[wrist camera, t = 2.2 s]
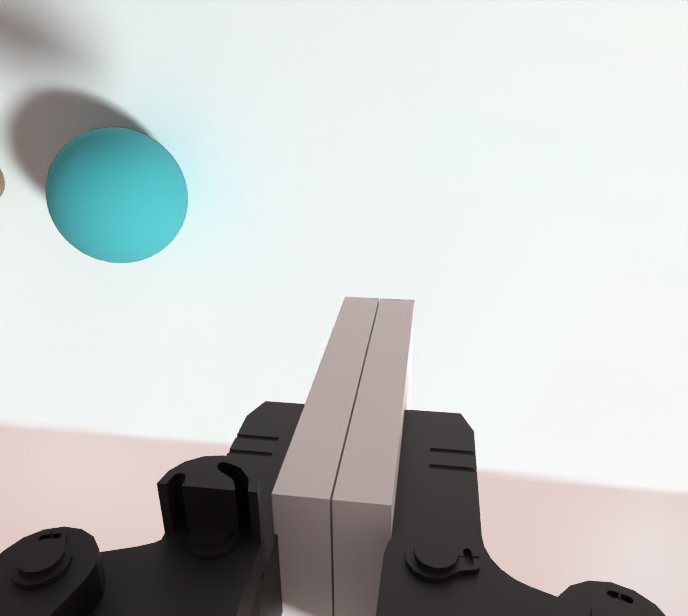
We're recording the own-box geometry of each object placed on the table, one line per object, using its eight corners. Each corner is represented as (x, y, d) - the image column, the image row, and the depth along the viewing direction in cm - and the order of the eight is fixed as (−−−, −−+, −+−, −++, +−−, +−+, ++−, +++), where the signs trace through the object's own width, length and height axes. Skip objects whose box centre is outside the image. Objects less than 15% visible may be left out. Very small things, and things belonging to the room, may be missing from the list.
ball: (80, 118, 30) (-1, 137, 24) (199, 119, 29) (143, 139, 24) (101, 237, 32) (32, 279, 27) (211, 242, 32) (163, 285, 26)
